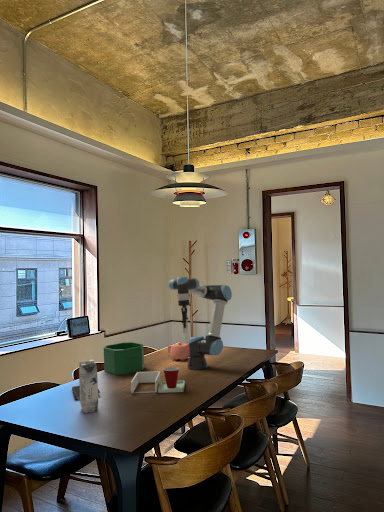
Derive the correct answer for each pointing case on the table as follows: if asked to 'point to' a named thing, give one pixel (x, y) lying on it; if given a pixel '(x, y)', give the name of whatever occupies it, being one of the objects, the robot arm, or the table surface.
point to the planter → (123, 358)
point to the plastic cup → (171, 376)
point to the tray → (164, 388)
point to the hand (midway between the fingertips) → (185, 330)
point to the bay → (146, 380)
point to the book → (78, 392)
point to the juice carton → (88, 386)
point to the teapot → (179, 351)
